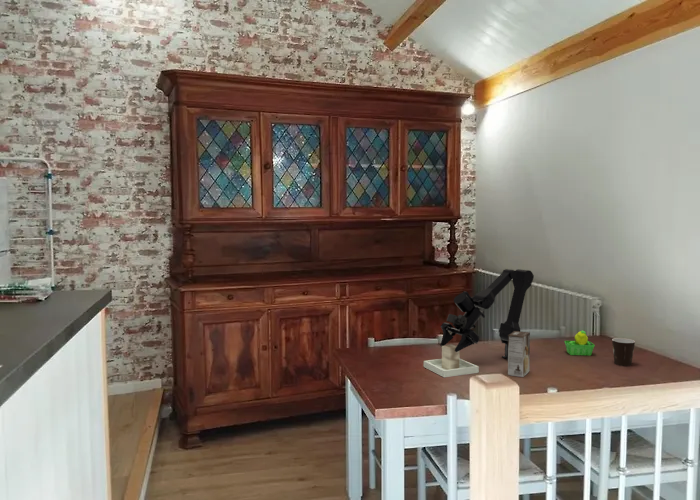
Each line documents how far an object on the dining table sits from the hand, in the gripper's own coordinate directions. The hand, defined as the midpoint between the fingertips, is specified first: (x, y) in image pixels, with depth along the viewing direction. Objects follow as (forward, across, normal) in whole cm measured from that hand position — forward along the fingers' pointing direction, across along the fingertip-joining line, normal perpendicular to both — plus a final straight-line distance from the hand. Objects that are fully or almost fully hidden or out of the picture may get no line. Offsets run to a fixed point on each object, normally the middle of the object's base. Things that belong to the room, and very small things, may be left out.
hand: (448, 348), depth 223 cm
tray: (+5, 0, +7) cm, 9 cm away
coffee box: (-9, +18, +22) cm, 29 cm away
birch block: (+5, 0, +7) cm, 8 cm away
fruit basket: (-41, +10, +54) cm, 68 cm away
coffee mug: (-41, +30, +54) cm, 74 cm away
